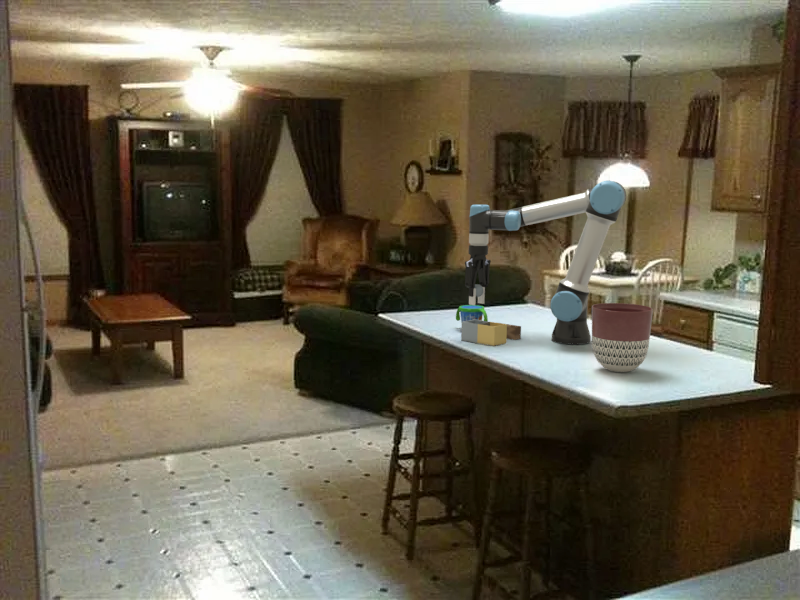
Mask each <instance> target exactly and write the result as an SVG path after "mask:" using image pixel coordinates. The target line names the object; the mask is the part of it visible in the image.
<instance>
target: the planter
mask: <svg viewBox="0 0 800 600" xmlns="http://www.w3.org/2000/svg"><path fill="white" fill-rule="evenodd" d="M653 310H654V309H653V308H652V307H651V306H647V305H643V304H634V303H625V302H624V303H623V302H619V303H618V302H605V303H596V304H593V305H591V344H592V345H591V346H592V352H593V354H594V355H593V356H594V357H595V360H596V361H597V362H598V363H599V365H601V366H602V367H603V368H604V369H606V370H607V371H610V372H613V373H614V372H615V373H629V372H632V371H635V370H636V369H638V367H640V366H641V364H643V363H644V361H645V359H646V357H647V354H648V351H649V347H650V339H651V331H652V330H651V329H652V322H653Z"/></svg>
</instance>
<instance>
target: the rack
mask: <svg viewBox="0 0 800 600" xmlns="http://www.w3.org/2000/svg"><path fill="white" fill-rule="evenodd" d="M500 323H501V322H500ZM501 324H504V323H501ZM506 324H507V323H506ZM521 338H522V326H521V325H515V324H507V339H506V340H512V339H513V341H516V340H520V339H521Z"/></svg>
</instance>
